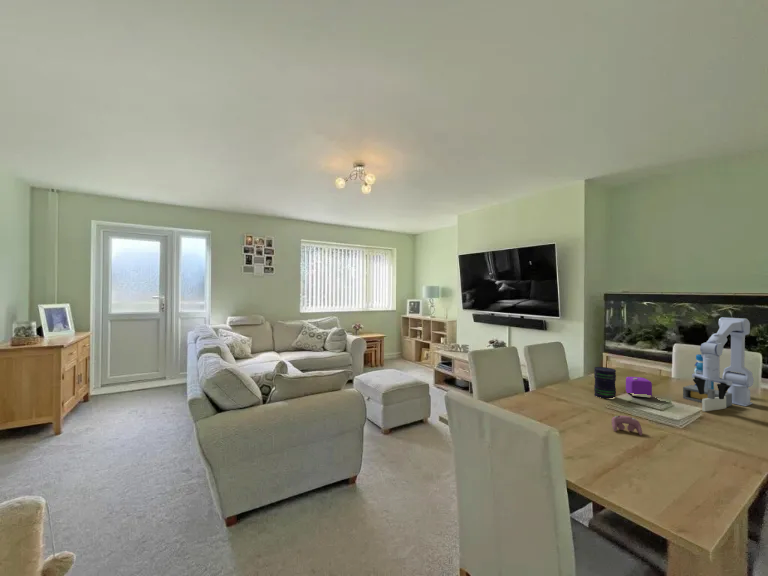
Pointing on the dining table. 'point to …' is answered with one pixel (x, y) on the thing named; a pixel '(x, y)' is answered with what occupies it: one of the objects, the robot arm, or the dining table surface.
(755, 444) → the dining table surface
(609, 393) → the storage jar
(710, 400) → the door
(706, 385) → the beverage bottle
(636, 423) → the video game controller
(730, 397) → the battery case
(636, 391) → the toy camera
